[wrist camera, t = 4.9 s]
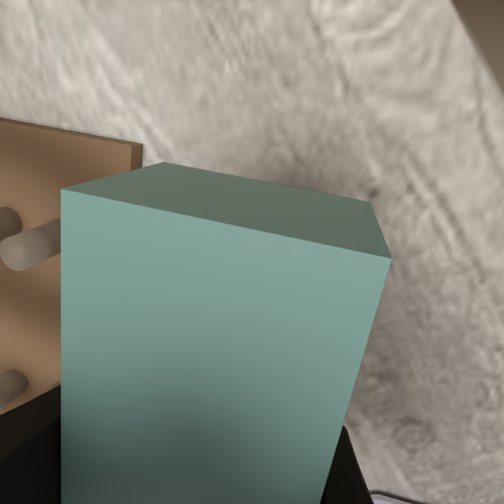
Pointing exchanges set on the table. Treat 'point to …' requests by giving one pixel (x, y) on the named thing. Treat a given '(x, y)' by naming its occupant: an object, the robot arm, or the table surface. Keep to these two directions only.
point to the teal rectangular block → (209, 335)
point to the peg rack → (40, 244)
